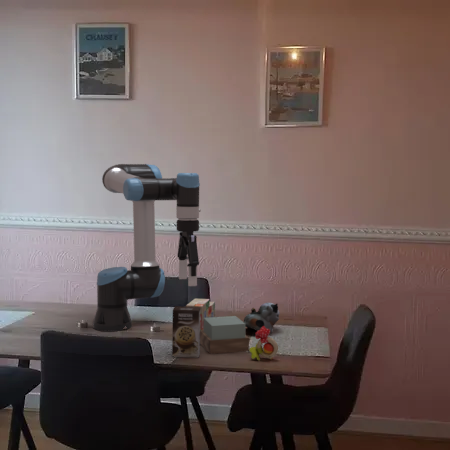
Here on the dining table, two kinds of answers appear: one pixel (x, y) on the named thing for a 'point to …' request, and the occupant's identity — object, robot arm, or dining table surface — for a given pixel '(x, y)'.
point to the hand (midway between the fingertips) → (187, 282)
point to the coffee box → (186, 332)
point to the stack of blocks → (203, 309)
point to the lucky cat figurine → (263, 317)
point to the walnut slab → (224, 344)
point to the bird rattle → (268, 348)
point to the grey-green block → (224, 328)
